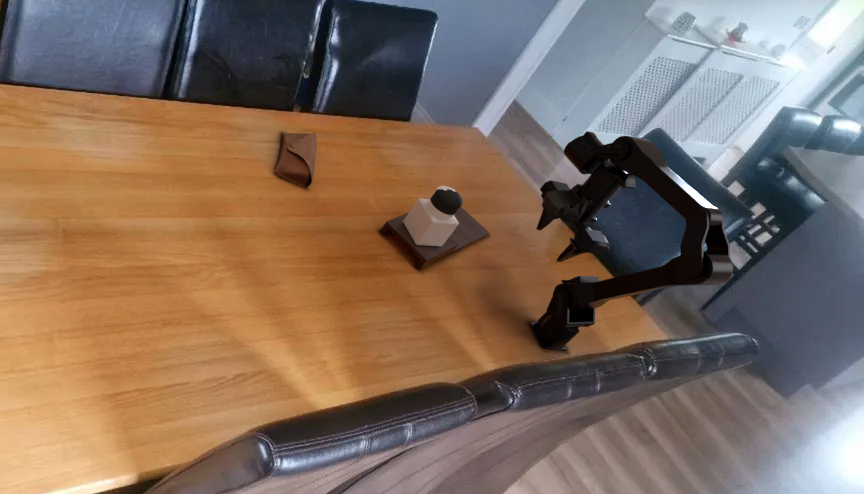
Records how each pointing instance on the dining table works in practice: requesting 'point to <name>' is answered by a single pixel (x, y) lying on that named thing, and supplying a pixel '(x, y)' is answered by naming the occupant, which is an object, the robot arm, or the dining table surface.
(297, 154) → the sunglasses case
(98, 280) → the dining table surface
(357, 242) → the dining table surface
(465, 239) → the step shelf
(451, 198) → the medicine bottle
